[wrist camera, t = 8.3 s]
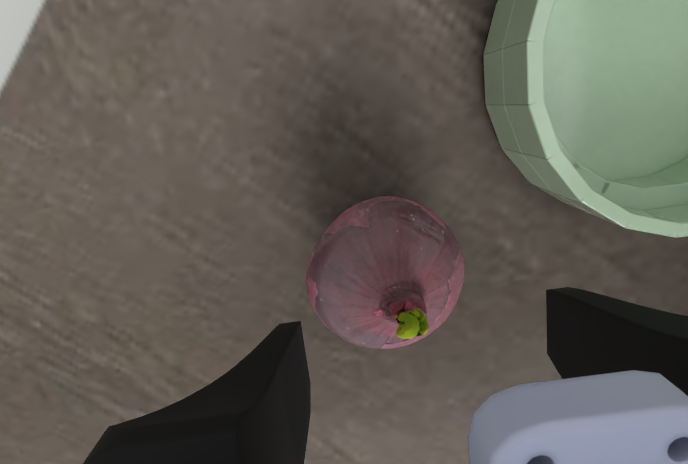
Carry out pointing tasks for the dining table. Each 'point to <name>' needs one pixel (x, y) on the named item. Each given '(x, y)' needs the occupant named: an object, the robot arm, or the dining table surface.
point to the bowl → (596, 104)
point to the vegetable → (385, 273)
